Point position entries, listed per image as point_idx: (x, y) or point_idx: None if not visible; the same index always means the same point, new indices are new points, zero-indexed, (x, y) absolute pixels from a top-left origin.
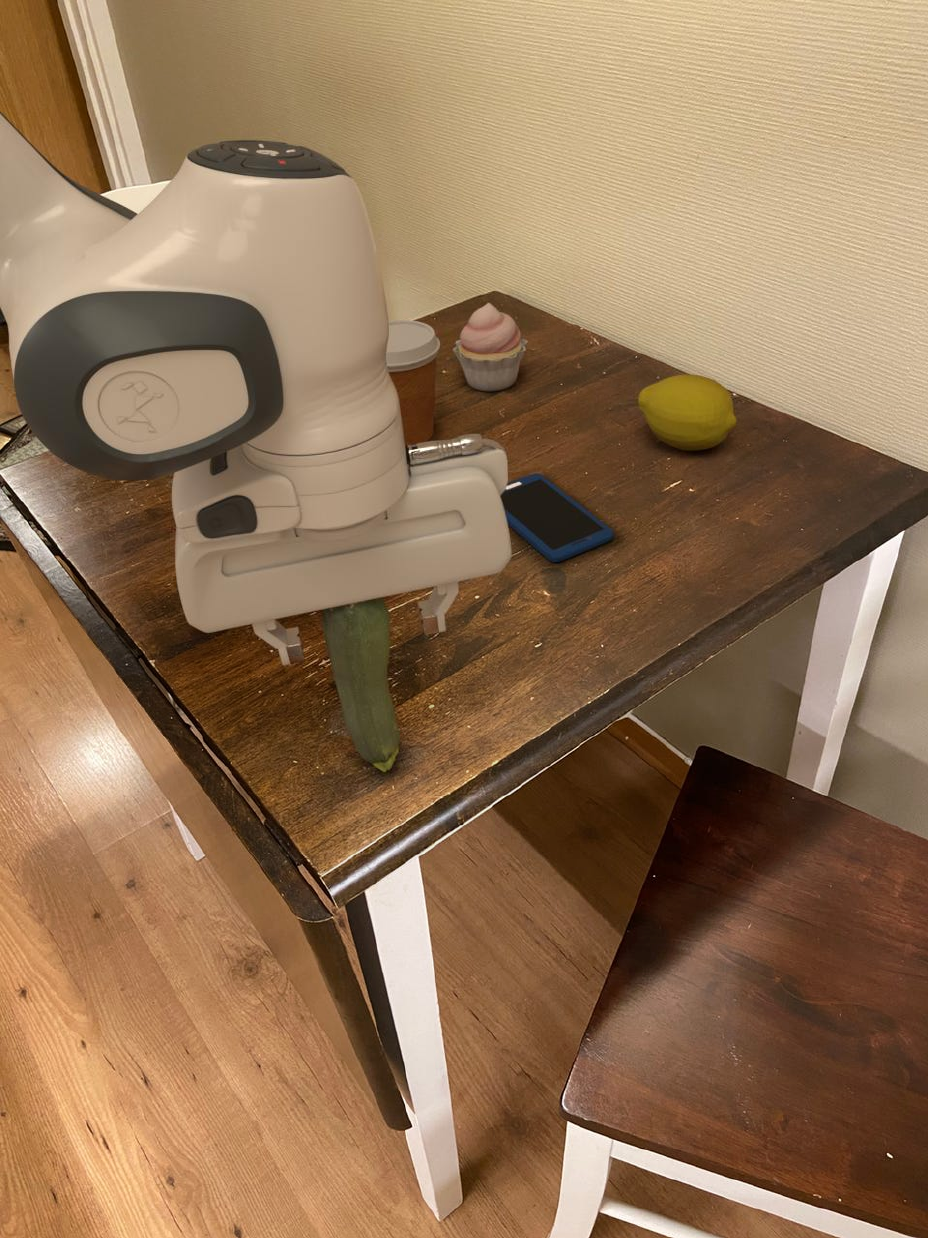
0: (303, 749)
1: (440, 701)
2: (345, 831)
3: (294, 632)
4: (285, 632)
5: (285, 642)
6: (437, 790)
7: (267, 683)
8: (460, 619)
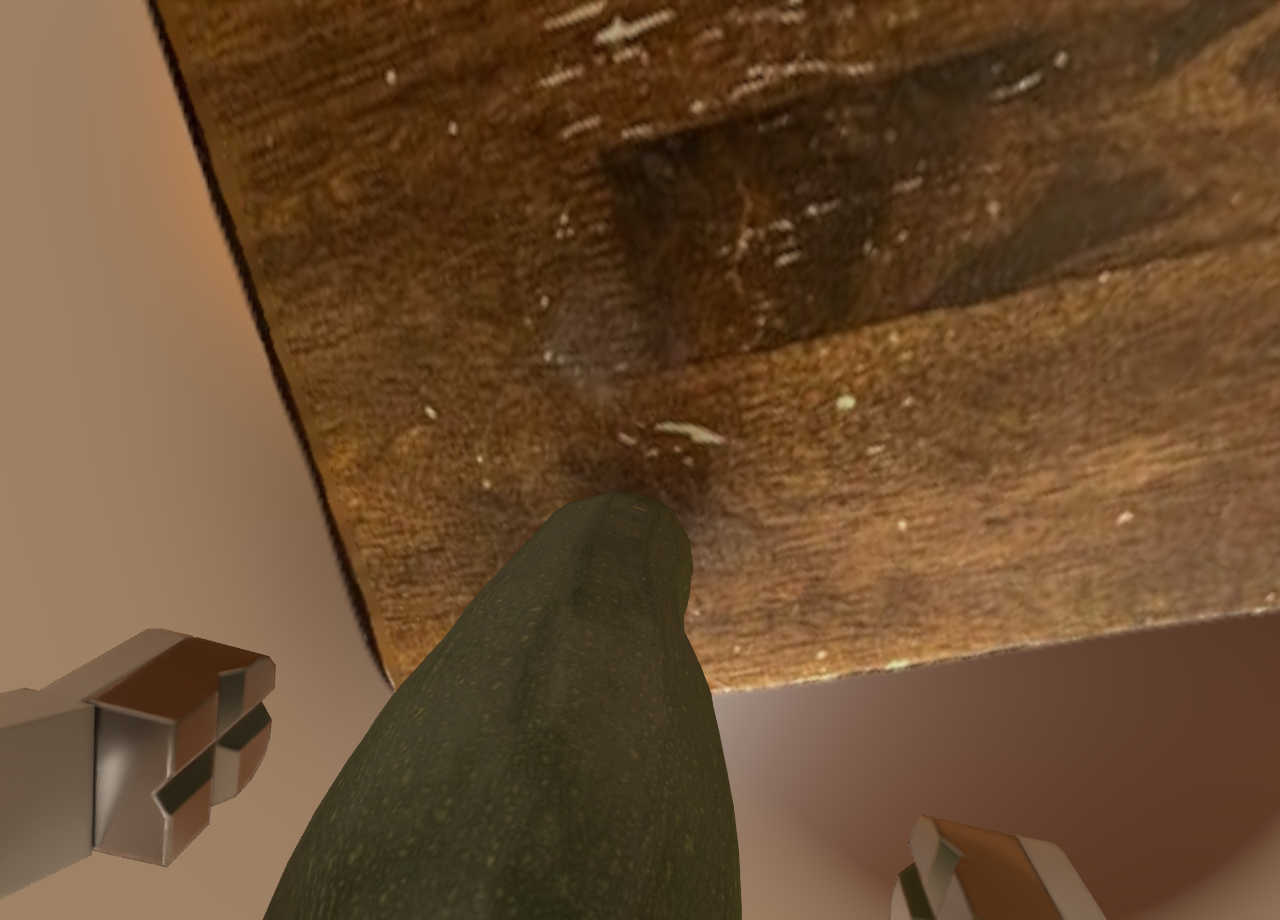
0: (460, 381)
1: (878, 397)
2: None
3: (145, 762)
4: (85, 751)
5: (68, 848)
6: (727, 669)
7: (419, 47)
8: (1152, 39)
